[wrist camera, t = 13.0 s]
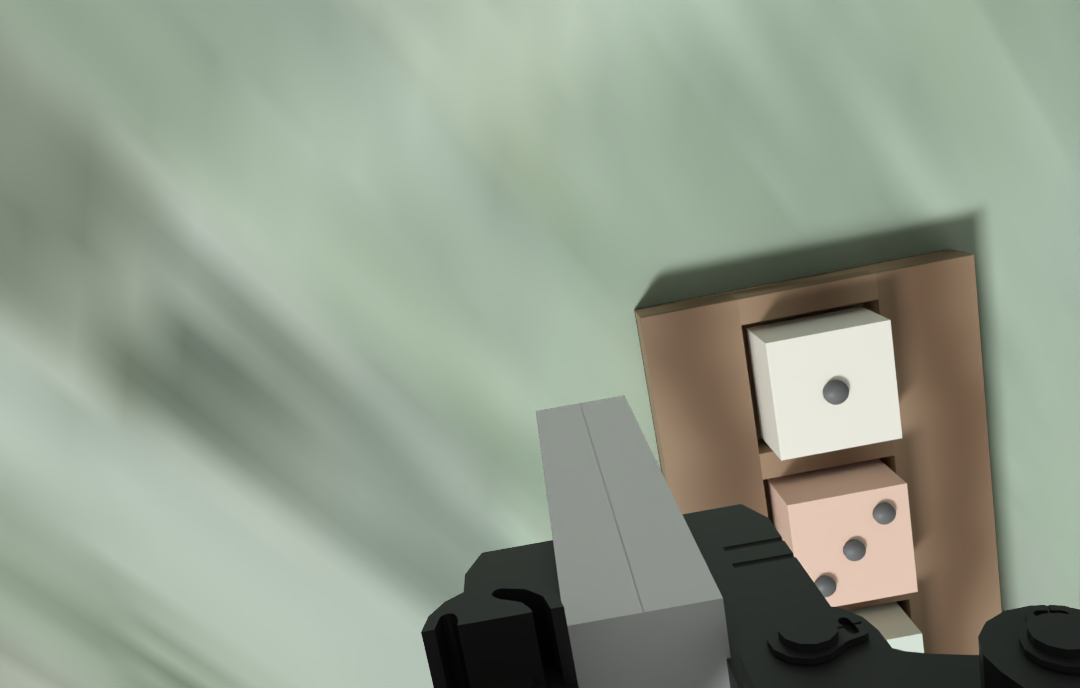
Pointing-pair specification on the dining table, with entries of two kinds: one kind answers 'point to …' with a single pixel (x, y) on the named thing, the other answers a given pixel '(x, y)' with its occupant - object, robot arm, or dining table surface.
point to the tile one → (825, 382)
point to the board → (918, 457)
